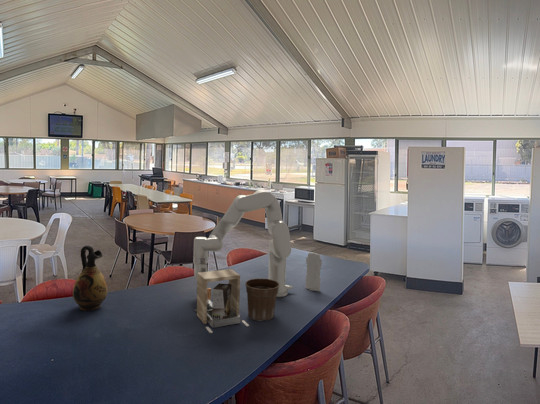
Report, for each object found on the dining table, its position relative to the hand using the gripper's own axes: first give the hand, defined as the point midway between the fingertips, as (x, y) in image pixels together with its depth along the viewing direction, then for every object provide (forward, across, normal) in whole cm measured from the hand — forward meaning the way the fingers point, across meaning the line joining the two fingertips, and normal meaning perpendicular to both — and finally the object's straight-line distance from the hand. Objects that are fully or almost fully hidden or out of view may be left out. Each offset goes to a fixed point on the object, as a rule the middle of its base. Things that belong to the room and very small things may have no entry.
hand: (200, 293), depth 202 cm
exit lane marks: (+2, -40, 0) cm, 40 cm away
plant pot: (+2, -35, -19) cm, 40 cm away
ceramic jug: (+2, +8, +53) cm, 54 cm away
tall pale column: (+2, -12, -64) cm, 65 cm away
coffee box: (+2, -32, 0) cm, 33 cm away
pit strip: (+2, -17, 0) cm, 17 cm away
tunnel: (+2, -28, 0) cm, 28 cm away
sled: (+2, -22, 0) cm, 23 cm away
